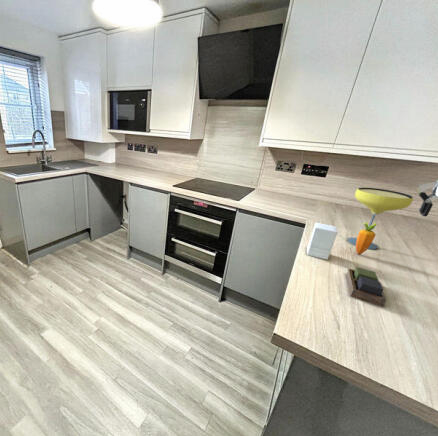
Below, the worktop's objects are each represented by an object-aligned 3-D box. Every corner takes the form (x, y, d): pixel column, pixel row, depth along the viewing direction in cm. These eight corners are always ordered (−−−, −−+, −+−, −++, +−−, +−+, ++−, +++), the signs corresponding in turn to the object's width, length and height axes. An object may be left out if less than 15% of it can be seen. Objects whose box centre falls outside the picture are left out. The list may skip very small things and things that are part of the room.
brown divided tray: (374, 282, 82) (377, 276, 81) (383, 306, 71) (386, 299, 70) (346, 274, 86) (348, 268, 85) (350, 296, 75) (353, 289, 74)
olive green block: (370, 281, 82) (375, 271, 80) (373, 288, 78) (378, 278, 76) (352, 276, 84) (356, 266, 83) (354, 283, 80) (358, 273, 79)
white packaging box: (326, 253, 101) (336, 226, 96) (327, 260, 95) (338, 232, 91) (306, 247, 105) (315, 221, 100) (306, 254, 99) (315, 227, 94)
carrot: (349, 254, 101) (363, 222, 95) (352, 250, 104) (365, 219, 99) (364, 258, 98) (379, 225, 92) (366, 255, 101) (381, 223, 95)
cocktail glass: (394, 248, 108) (420, 195, 99) (378, 257, 99) (405, 200, 90) (348, 232, 122) (367, 186, 113) (331, 239, 114) (349, 189, 105)
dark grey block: (375, 291, 76) (380, 281, 75) (378, 300, 72) (383, 289, 71) (355, 285, 79) (359, 275, 77) (357, 293, 75) (362, 283, 73)
